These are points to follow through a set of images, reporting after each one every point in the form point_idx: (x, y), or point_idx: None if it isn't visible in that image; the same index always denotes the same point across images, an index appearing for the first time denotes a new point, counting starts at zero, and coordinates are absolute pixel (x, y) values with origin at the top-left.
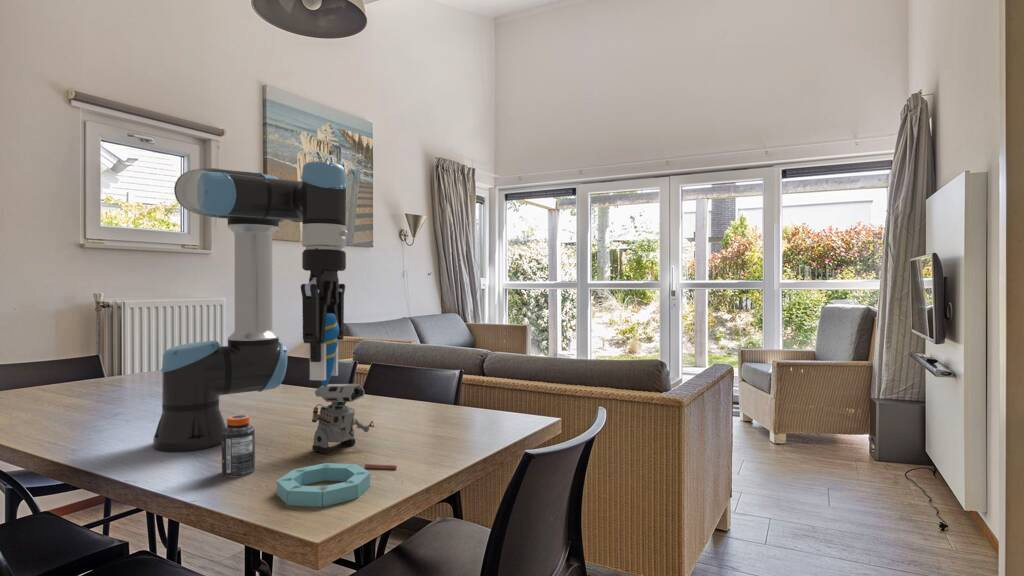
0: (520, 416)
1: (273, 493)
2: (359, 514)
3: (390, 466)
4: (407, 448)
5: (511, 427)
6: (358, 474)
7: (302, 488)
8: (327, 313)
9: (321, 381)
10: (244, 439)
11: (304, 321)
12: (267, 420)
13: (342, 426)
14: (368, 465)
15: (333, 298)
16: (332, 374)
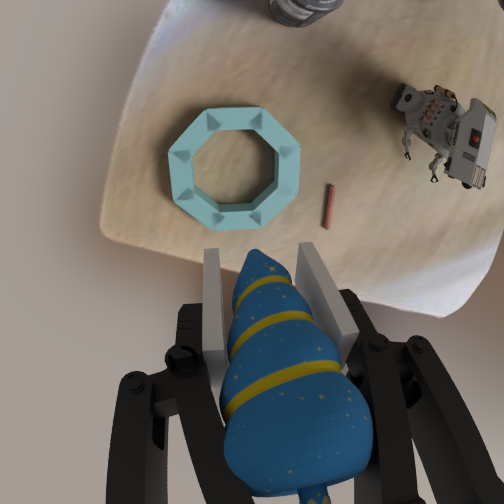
0: (471, 289)
1: (210, 100)
2: (167, 244)
3: (326, 222)
4: (406, 213)
5: (445, 293)
6: (251, 216)
7: (179, 167)
8: (337, 480)
9: (247, 256)
10: (294, 6)
11: (112, 459)
12: (493, 12)
13: (423, 138)
14: (330, 192)
15: (459, 490)
16: (296, 273)
